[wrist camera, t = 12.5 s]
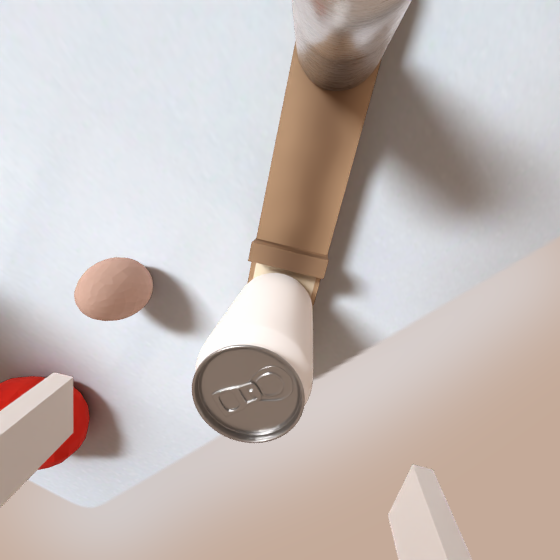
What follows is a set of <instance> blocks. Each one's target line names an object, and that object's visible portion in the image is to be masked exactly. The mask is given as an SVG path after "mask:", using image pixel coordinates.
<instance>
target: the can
mask: <svg viewBox="0 0 560 560" xmlns="http://www.w3.org/2000/svg"><path fill="white" fill-rule="evenodd" d="M312 384H313V311H312V302H311V298H310V296H309V294H308V292H307V291H306V289H305V288H304V287H303V286H302V285H301V284H300V283H299V282H298V281H297V280H296V279H294V278H292V277H290V276H288V275H285V274H281V273H267V274H262V275H260V276H257V277H255V278H254V279H252V280H251V281H250V282H249V283H247V285H246V286H245V287H244V288H243V289H242V291H241V292H240V293H239V295H238V296H237V298H236V299H235V300H234V302H233V303H232V305H231V306H230V307H229V309H228V310H227V312H226V313H225V314H224V316H223V317H222V319H221V320H220V321H219V323H218V324H217V326H216V327H215V329H214V330H213V331H212V333H211V334H210V336H209V337H208V339H207V340H206V342H205V344H204V345H203V347H202V349H201V351H200V353H199V355H198V358H197V363H196V372H195V375H194V378H193V382H192V396H193V400H194V404H195V406H196V408H197V410H198V412H199V414H200V415H201V417H202V418H203V419H204V421H205V422H206V423H207V424H208V425H209V426H210V427H212V428H213V429H214V430H215V431H217V432H218V433H220V434H222V435H224V436H226V437H228V438H230V439H233V440H237V441H241V442H247V443H262V442H267V441H271V440H274V439H277V438H279V437H281V436H283V435H285V434H286V433H288V432H289V431H290V430H291V429H292V428H293V427H294V426H295V425H296V424H297V422H298V421H299V419H300V417H301V415H302V412H303V409H304V406H305V404H306V402H307V401H308V398H309V396H310V393H311V389H312Z"/></svg>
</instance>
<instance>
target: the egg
mask: <svg viewBox="0 0 560 560" xmlns="http://www.w3.org/2000/svg"><path fill="white" fill-rule="evenodd" d="M152 292H153V281H152V277H151V275H150V273H149V271H148V270H147V269H146V268H145V267H144V266H143V265H142V264H140V263H139V262H137V261H135V260H133V259H129V258H117V257H115V258H110V259H106V260H103V261H101V262H98V263H96V264H95V265H93V266H92V267H90V268H89V269H88V270H87V271H86V272H85V273H84V274H83V275H82V276H81V278H80V279H79V281H78V283H77V286H76V289H75V293H74V297H75V302H76V305H77V306H78V308H79V309H80V311H81V312H82V313H84V314H85V315H86V316H88V317H90V318H93V319H97V320H103V321H113V320H120V319H124V318H127V317H129V316H132V315H133V314H135V313H137V312H138V311H140V310H141V309H142V308H143V307H144V306H145V305H146V304H147V303H148V301H149V299H150V298H151V295H152Z"/></svg>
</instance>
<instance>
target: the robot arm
mask: <svg viewBox="0 0 560 560" xmlns="http://www.w3.org/2000/svg"><path fill="white" fill-rule="evenodd" d="M72 433H73V377H71V376H67V375H63V374H59V373H55V372H54V373H52V374H51V375H49V376H48V377H47V378H45V379H44V380H43V381H41V382H40V383H38V384H37V385H36V386H34V387H33V388H31V389H30V390H29V391H27V392H26V393H24V394H23V395H22V396H20V397H19V398H17V399H16V400H15V401H13V402H12V403H11V404H9V405H8V406H6V407H5V408H4V409H2V410H1V411H0V508H1V506H3V504H5V502H6V501H7V500H8V499H9V498H10V497H11V496H12V495H13V494H14V493H15V492H16V491H17V490H18V489H19V488H20V487H21V486H22V485H23V484H24V483H25V482H26V481H27V480H28V479H29V478H30V477H31V476H32V475H33V474H34V473H35V472H36V471H37V470H38V468H39V467H40V466H41V465H42V464H43V463H44V462H45V461H46V460H47V459H48V458H49V457H50V456H51V455H52V454H53V453H54V452H55V451H56V450H57V449H58V448H59V447H60V446H61V445H62V444H63V443H64V442H65V441H66V440H67V439H68V438H69V436H70V435H71V434H72ZM388 517H389V522H390V526H391V530H392V534H393V539H394V543H395V547H396V551H397V556H398V560H472V558H471V556H470V554H469V551H468V549H467V547H466V545H465V542H464V540H463V538H462V535H461V533H460V531H459V528H458V526H457V524H456V521H455V519H454V517H453V514H452V512H451V510H450V507H449V505H448V503H447V500H446V499H445V496H444V494H443V491H442V489H441V487H440V484H439V482H438V480H437V477H436V475H435V473H434V470H432V469H429V468H425V467H422V466H418V465H412V467H411V468H410V471H409V473H408V475H407V477H406V479H405V481H404V483H403V485H402V487H401V489H400V491H399V493H398V495H397V498H396V499H395V502H394V504H393V506H392V508H391V510H390V512H389V514H388Z"/></svg>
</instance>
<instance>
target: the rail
mask: <svg viewBox="0 0 560 560" xmlns="http://www.w3.org/2000/svg"><path fill="white" fill-rule="evenodd" d="M381 59H382V58H381ZM380 63H381V60H380V62H379V64H378V65H377V67H376V69H375V70H374V71H373V73H372V74H371V75H370V76H369V77H368V78H367V79H366V80H365V81H363V82H362V83H361V84H359V85H358V86H356V87H354V88H351V89H348V90H344V91H330V90H326V89H323V88H321V87H319V86H317V85H316V84H314V83H313V82H312V81H311V80H310V79H309V78H308V77H307V76H306V75H305V73H304V71H303V70H302V68H301V65H300V63H299V60H298V55H297V49H296V41H295V47H294V52H293V57H292V62H291V67H290V72H289V77H288V82H287V87H286V92H285V97H284V102H283V107H282V112H281V117H280V122H279V127H278V132H277V137H276V142H275V147H274V152H273V157H272V162H271V167H270V172H269V177H268V182H267V187H266V192H265V198H264V203H263V208H262V213H261V218H260V223H259V228H258V233H257V238H256V239H255V240H254V241H253V242H252V244H251V249H250V254H249V259H248V261H251V262H252V263H251V268H250V273H249V278H248V283H249V282H250V281H251V280H252V279H254V278H255V277H257V276H260V275H262V274H267V273H281V274H285V275H288V276H290V277H292V278H294V279H296V280H297V281H298V282H299V283H300V284H301V285H302V286H303V287H304V288H305V289H306V291H307V292H308V294H309V296H310V298H311V302H312V309H313V305H314V301H315V298H316V294H317V291H318V287H319V283H320V280H321V279H324V275H325V272H326V268H327V265H328V261H329V260H328V256H327V254H328V251H329V247H330V244H331V240H332V236H333V233H334V229H335V225H336V222H337V218H338V215H339V211H340V207H341V204H342V200H343V197H344V193H345V189H346V186H347V182H348V178H349V175H350V171H351V168H352V164H353V160H354V157H355V153H356V149H357V146H358V142H359V139H360V135H361V131H362V128H363V124H364V121H365V117H366V113H367V110H368V106H369V102H370V99H371V95H372V92H373V88H374V84H375V81H376V77H377V74H378V70H379V66H380Z"/></svg>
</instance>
